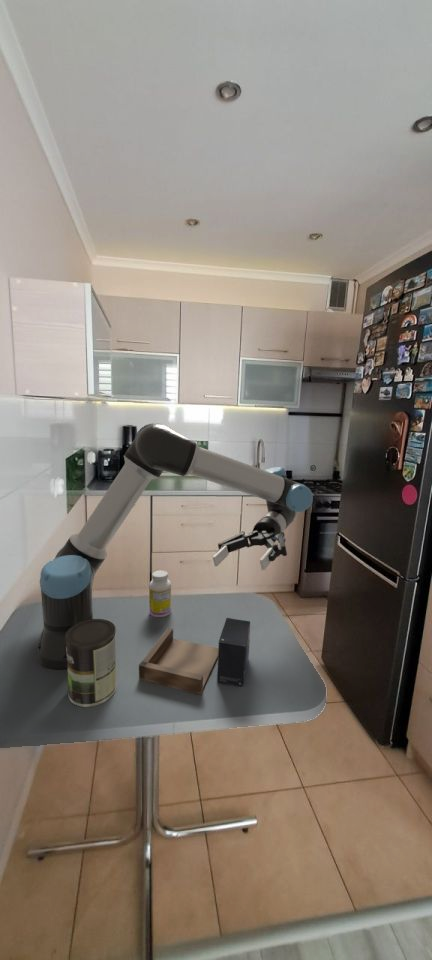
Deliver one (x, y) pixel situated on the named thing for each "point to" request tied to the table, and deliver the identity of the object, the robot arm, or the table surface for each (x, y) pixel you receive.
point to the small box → (233, 652)
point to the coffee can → (91, 662)
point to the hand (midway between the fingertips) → (237, 563)
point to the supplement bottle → (160, 594)
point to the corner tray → (178, 663)
